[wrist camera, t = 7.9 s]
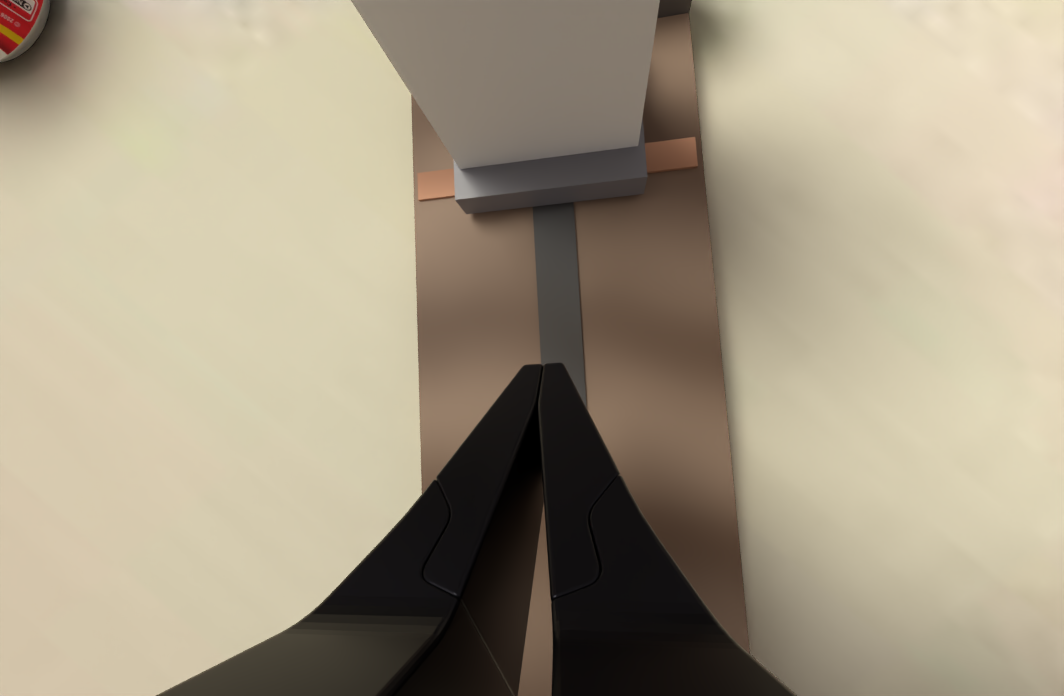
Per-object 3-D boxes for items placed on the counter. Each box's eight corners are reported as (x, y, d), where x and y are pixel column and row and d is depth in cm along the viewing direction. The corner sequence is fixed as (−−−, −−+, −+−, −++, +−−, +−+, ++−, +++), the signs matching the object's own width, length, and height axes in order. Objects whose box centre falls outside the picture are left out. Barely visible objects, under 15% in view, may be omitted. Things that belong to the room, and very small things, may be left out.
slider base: (748, 749, 14) (809, 900, 10) (442, 730, 15) (383, 854, 11) (678, -10, 17) (703, -143, 12) (421, 35, 18) (368, -69, 14)
